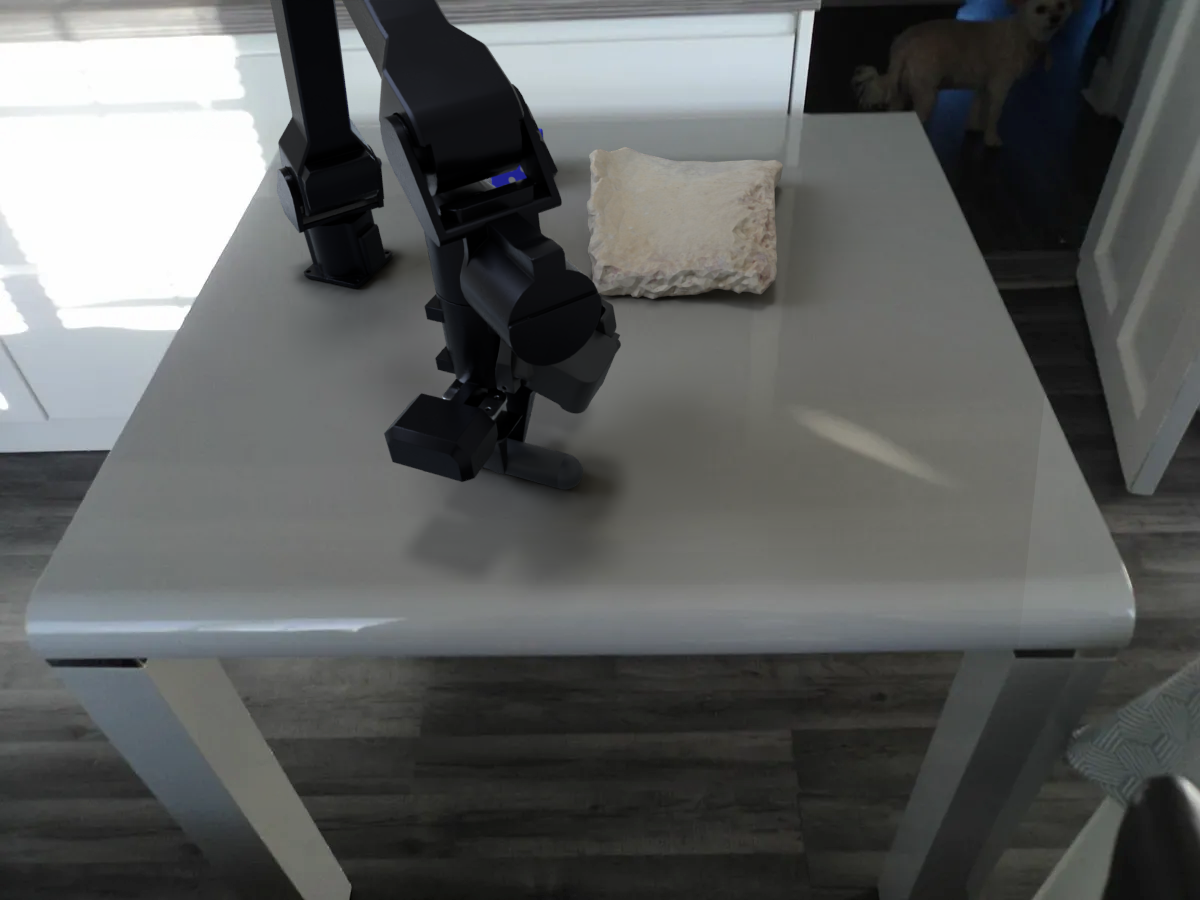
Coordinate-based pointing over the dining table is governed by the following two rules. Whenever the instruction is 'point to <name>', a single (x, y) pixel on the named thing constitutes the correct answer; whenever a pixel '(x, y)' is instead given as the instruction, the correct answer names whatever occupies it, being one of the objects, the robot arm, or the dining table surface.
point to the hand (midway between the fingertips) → (507, 458)
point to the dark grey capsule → (542, 465)
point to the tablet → (681, 224)
